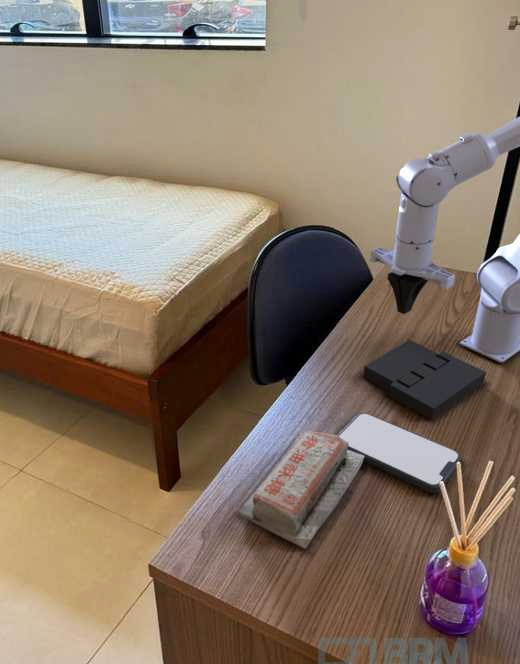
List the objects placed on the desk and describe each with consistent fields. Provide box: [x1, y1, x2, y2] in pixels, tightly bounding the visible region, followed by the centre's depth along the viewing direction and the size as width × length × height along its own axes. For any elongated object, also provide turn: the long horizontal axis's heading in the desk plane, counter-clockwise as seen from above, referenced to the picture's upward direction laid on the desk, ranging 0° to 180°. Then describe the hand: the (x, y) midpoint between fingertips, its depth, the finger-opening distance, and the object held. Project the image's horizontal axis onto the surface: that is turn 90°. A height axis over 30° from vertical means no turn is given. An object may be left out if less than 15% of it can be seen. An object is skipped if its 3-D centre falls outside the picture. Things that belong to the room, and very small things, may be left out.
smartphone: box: [336, 412, 462, 494], centre depth 88 cm, size 9×2×16 cm
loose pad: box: [362, 339, 447, 392], centre depth 103 cm, size 12×8×2 cm
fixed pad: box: [388, 351, 487, 421], centre depth 99 cm, size 14×8×2 cm, turn 127°
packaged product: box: [238, 430, 365, 550], centre depth 82 cm, size 18×5×10 cm
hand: (404, 310), depth 104 cm, fingers closed
